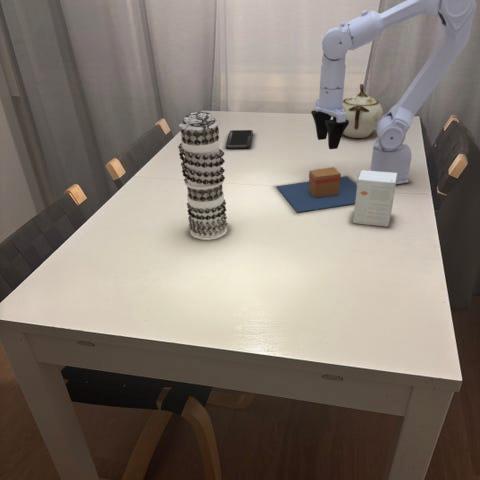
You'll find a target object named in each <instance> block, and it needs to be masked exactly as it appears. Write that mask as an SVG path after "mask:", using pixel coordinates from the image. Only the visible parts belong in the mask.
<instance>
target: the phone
mask: <svg viewBox="0 0 480 480" xmlns="http://www.w3.org/2000/svg"><path fill="white" fill-rule="evenodd" d="M253 136H254V131H253V130H252V129H240V130H239V129H233V130H229V133H228V136H227V140H226V142H225V148H226V149H227V150H242V149H243V150H245V149H246V150H247V149H250V148H251V147H252V143H253Z"/></svg>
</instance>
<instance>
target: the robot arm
mask: <svg viewBox="0 0 480 480" xmlns="http://www.w3.org/2000/svg"><path fill="white" fill-rule="evenodd" d="M476 2H477V1H476V0H404V1H402V2H400V3H399V4H397V5H395V6H393V7H391V8H389V9H387V10H385V11H383V12H381V13H379V12H377V11H375V10H373V9H372V10H370V11H368V10H367V9H365V10H363V11H361V12H360V14H361V15H359V16H358V17H355V18H353V19H351V20H349V21H347V22H345V21H342V22H340V23H339V27H337V26H336V27H335V26H334V27H332V28H330V29H329V30H327V31H326V33H325V34H324V36H323V38H322V41H321V46H322V48H321V49H322V52H323V53H322V57H321V63H322V64H321V65H320V78H319V95H318V98H316V99H315V106H314V107H313V110H311V111H310V113H311V116H312V118H313V121H314V126H315V131H316V137H317V140H318V141H321V140H327V142H328V144H327V145H328V149H329V150H336V149H338V148H339V145H340V143H341V139H342V137H343V135H344V133H343V132H344V130H345V129H346V127H347V126H348V124H349V120H347V119H346V113H345V112H344V108H343V105H342V102H343V100H344V90H345V79H346V68H347V65H346V56H347V53H348V52H349V51H355V50H356V49H358V48H359V49H360V48H362V47H363V46H365V45H367V44H370V43H372V42H374V41H376V40H378V39H380V38H381V36H382V34H383V33H384V31H385V29H388V28H390V27H393V26H396V25H398V24H401V23H403V22H405V21H407V20H411V19H413V18H416V17H417V16H419V15H428V16H434V17H439V20H440V22H441V30H442V39H441V40H440V42H439V43H438V44H437V46H436V47H435V49H434V50H433V52H432V53H431V54H430V56H429V57H428V59H427V60H426V61H425V63H424V65H423V66H422V67H421V68H420V70H419V72H418V73H417V74H416V76H415V77H414V79H413V80H412V82H411V83H410V84H409V86H408V87H407V89H406V91H405V92H404V93H403V95H402V96H401V98H400V99H399V101H398V102H397V103H395V104H394V105H393V106H392V107H391V108H390V109H389V111H388V112H387V113H385V114H383V117H381V118H380V119H379V121H378V122H377V125H376V128H375V132H376V134H377V139H376V140H375V141H374V142H373V144H372V152H371V158H370V159H371V160H370V166H369V171H379V172H391V173H397V179H396V185H400V184H407V183H409V181H410V180H409V179H408V178H409V173H410V167H411V162H412V150H411V147H410V146H409V145H408V144H406V143H404V142H405V140H406V135H407V133H408V131H409V129H410V128H411V126H412V124H413V121H414V118H415V115H416V114H417V113H418V112H419V110H420V109H421V107H422V106H423V105H424V103H425V102H426V101H427V99H428V98H429V96H430V95H431V93H432V92H433V91H434V90H435V88H436V87H437V85H438V84H439V83H440V81H441V80H442V79H443V77H444V76H445V75H446V73H447V72H448V71H449V69H450V68H451V67H452V65H453V63H454V62H455V61H456V60H457V58H458V57H459V55H460V54H461V52H462V51H463V50H464V48H466V46H467V44H468V42H469V41H470V37H471V31H472V26H473V20H474V16H475V13H476V10H477V3H476Z"/></svg>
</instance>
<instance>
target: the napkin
mask: <svg viewBox="0 0 480 480" xmlns="http://www.w3.org/2000/svg"><path fill="white" fill-rule="evenodd" d="M276 188H277V190H278V191H279V192H280V193H281V195H282V196H283V197H284V198H285V200H286V201H287V202H288V204H289V205H290V206H291V207H292V209H293V210H294V211H295V213H296V214H300V213H306V212H311V211H312V212H314V211H319V210H320V211H321V210H325V209H326V210H327V209H332V208H339V207H345V206H346V207H347V206H353V205H355V200H356V191H357V184H356V182H354V181H353V180H352V179H351V178H349V177H348V176H347V175H346V176H341V181H340V188H339V195H333V196H326V197H319V198H314V197H313V196H312V194H311V193H310V192H309V181H303V182H296V183H288V184H283V185H277V186H276Z"/></svg>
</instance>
